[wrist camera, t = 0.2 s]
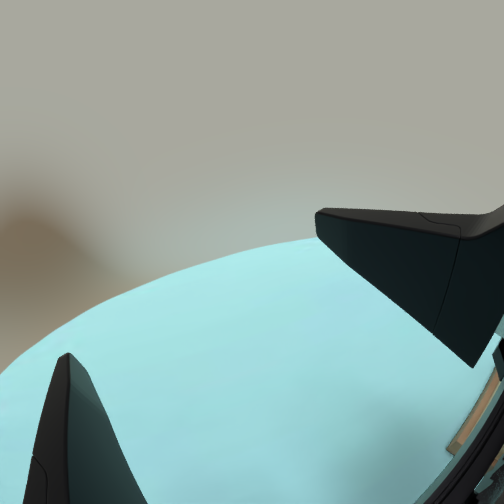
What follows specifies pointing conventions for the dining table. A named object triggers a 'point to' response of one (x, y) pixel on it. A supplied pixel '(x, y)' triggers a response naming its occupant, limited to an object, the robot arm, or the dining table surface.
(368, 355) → the dining table surface
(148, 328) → the dining table surface
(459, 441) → the pedestal
